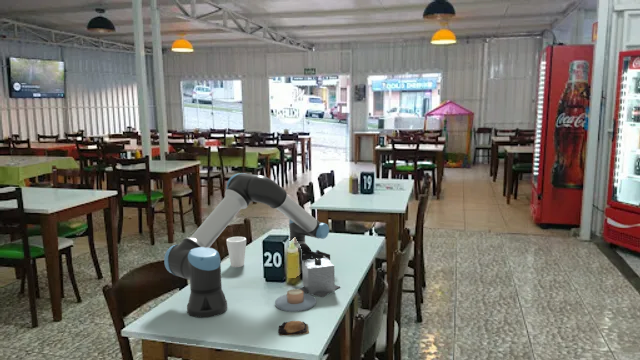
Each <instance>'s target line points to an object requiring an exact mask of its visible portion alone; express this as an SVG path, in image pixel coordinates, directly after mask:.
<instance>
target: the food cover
mask: <svg viewBox="0 0 640 360" xmlns="http://www.w3.org/2000/svg"><path fill="white" fill-rule="evenodd" d="M301 263H302V269H301V270H302V286H303V287H304V288H305V289H306V291H307V292H308V294H309V295H311V294H317V293H325V292H331V293H332V292H335V291H336V290H335V283H336V282H335V265H334V264H333V263H332V262H331V260H329V259H328V258H321V259H319V258H317V259H308V260H302V262H301Z"/></svg>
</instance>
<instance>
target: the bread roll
mask: <svg viewBox="0 0 640 360" xmlns="http://www.w3.org/2000/svg"><path fill="white" fill-rule="evenodd" d="M309 333H310V329H309V324H308V323H306V322H305V321H301V320H291V321H290V320H289V321H286V322H285V321H284V322H283V323H282V324H280V325H279V326H278V330H277V334H278V335H279V336H295V335H296V336H298V335H307V334H309Z"/></svg>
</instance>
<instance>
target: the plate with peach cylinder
mask: <svg viewBox="0 0 640 360" xmlns="http://www.w3.org/2000/svg"><path fill="white" fill-rule="evenodd" d="M316 304H317V299H316V297H315V296H314V295H311V294H307V293H303V290H300V288H293V289H289V290H288V291H286V294H283V295H280V296H278V297H277V298H276V299H275V301H274V306H275V307H276V308H277V309H278V310H281V311H284V312H291V313H292V312H295V313H296V312H303V311H308V310H310V309H312V308H314V307H315V306H316Z"/></svg>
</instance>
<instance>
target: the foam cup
mask: <svg viewBox="0 0 640 360" xmlns="http://www.w3.org/2000/svg"><path fill="white" fill-rule="evenodd" d="M246 245H247V238H246V237H245V236H232V237H231V236H230V237H228V238H226V246H227V247H226V248H227V250H228V251H227V252H228V256H229V262H230V267H231V268H242V267H243V266H245V259H246Z"/></svg>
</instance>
